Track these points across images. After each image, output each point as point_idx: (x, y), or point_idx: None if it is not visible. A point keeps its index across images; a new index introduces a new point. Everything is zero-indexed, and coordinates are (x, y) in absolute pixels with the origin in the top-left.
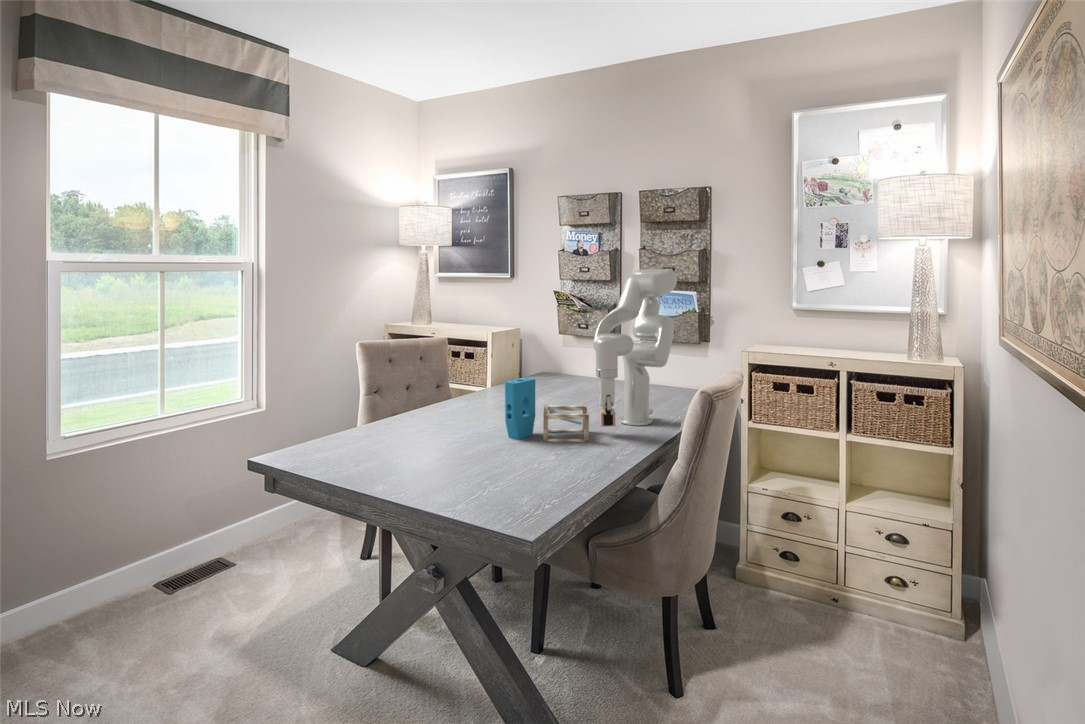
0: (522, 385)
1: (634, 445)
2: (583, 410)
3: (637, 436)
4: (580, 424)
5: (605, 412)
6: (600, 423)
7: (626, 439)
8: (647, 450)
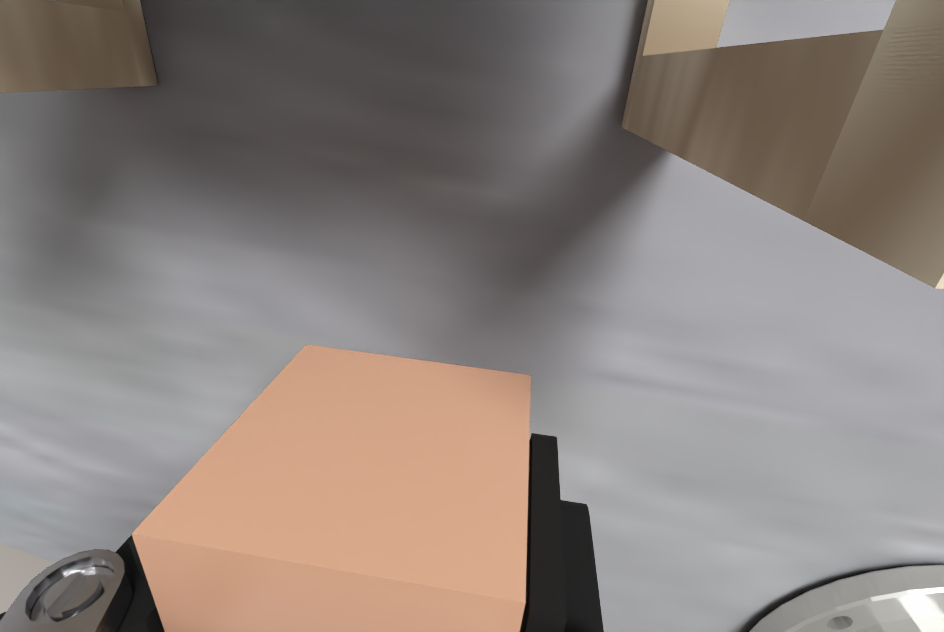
0: None
1: (112, 488)
2: (872, 67)
3: None
4: None
5: (11, 627)
6: (456, 367)
7: None
8: (4, 529)
